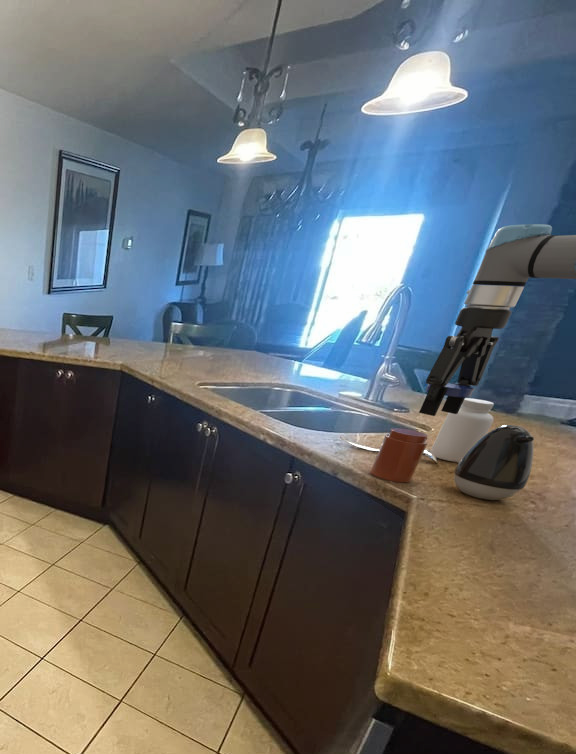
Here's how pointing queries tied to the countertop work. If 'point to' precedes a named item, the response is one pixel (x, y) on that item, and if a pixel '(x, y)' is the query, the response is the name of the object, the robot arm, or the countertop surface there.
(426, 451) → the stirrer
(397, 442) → the jar
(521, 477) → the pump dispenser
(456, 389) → the lid
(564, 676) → the countertop surface
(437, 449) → the pill bottle
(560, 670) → the countertop surface
